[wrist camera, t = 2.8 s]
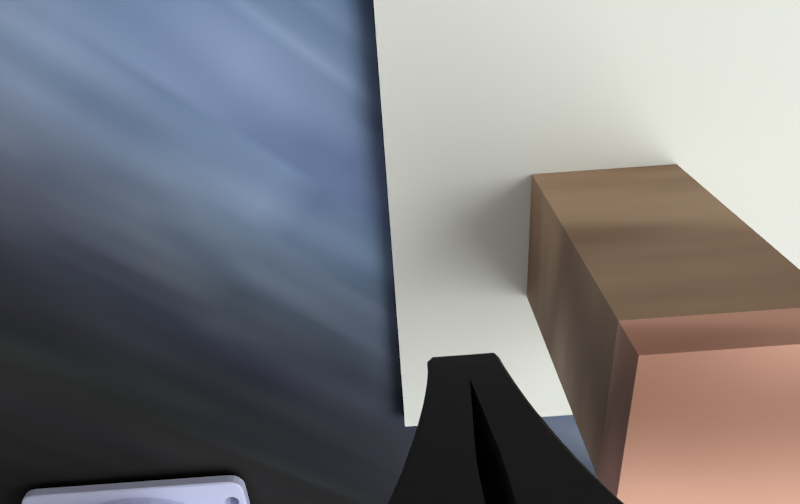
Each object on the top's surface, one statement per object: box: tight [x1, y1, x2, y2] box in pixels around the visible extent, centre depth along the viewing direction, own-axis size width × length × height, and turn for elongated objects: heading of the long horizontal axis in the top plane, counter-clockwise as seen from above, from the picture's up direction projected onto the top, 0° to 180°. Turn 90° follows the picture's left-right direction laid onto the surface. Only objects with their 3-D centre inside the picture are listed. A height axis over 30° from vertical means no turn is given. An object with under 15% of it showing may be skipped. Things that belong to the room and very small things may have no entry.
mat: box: [373, 0, 800, 426], centre depth 19 cm, size 14×18×1 cm
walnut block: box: [527, 164, 800, 504], centre depth 15 cm, size 4×4×8 cm
